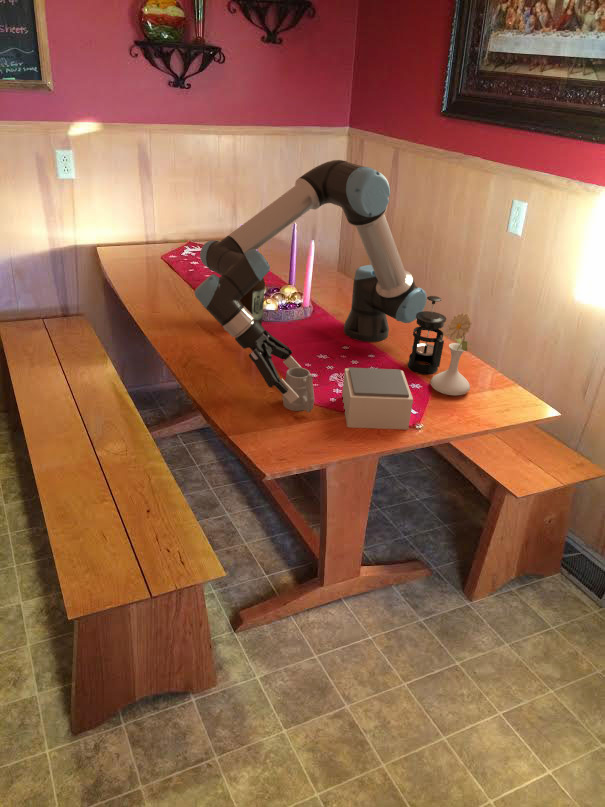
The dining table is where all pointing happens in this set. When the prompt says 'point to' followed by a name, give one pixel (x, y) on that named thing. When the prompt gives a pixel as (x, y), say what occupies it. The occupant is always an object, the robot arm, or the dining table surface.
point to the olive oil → (255, 301)
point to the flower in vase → (454, 359)
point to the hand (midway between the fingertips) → (298, 387)
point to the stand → (376, 398)
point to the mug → (300, 389)
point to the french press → (424, 350)
